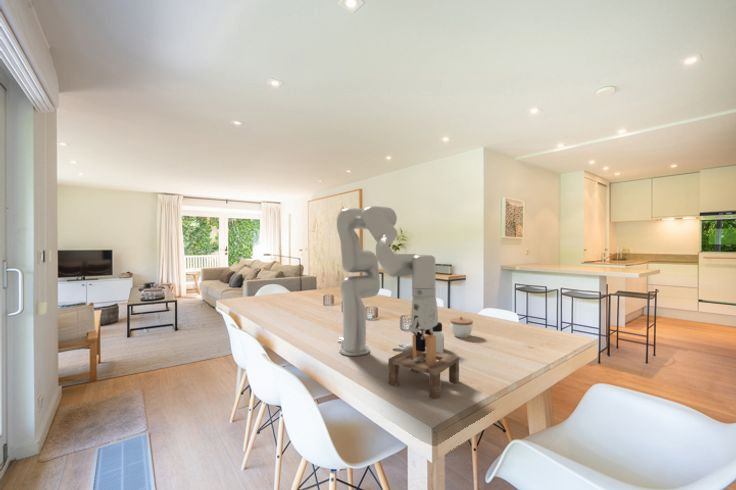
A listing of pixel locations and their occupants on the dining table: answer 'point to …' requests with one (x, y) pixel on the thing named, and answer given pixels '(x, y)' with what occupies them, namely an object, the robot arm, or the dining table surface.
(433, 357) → the orange boxy part
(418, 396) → the dining table surface
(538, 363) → the dining table surface
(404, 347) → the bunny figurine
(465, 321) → the lidded jar
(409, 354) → the brown square frame
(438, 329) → the medicine bottle
